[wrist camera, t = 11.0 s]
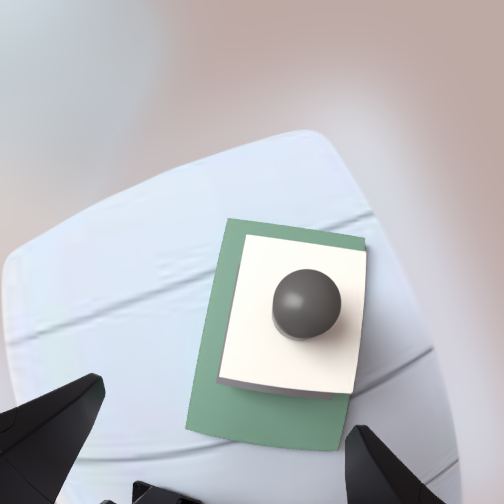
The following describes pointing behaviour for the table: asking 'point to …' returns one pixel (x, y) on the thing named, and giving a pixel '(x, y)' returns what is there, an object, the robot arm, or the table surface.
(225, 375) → the plug block
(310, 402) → the header board
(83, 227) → the table surface
